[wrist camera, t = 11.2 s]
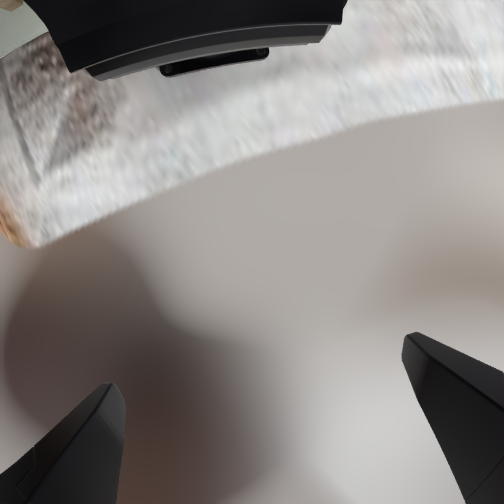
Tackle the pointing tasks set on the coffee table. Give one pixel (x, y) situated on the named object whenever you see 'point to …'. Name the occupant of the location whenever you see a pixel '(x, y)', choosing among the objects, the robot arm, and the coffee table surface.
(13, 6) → the stool
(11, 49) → the mat
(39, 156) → the coffee table surface
